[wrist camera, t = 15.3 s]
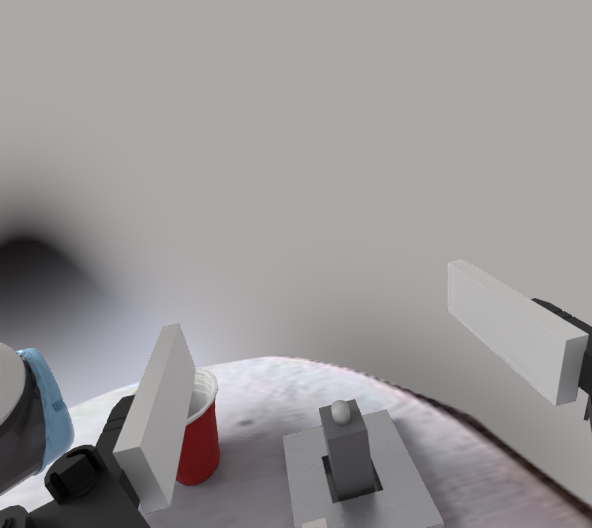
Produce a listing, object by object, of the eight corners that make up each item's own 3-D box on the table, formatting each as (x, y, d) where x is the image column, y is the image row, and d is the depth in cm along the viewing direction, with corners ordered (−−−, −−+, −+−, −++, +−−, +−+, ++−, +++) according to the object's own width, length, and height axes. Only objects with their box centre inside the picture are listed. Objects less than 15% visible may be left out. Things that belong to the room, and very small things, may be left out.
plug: (339, 505, 37) (325, 428, 32) (331, 471, 40) (316, 397, 36) (375, 495, 37) (365, 418, 33) (363, 462, 41) (353, 388, 36)
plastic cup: (256, 447, 46) (235, 377, 41) (192, 525, 38) (157, 449, 33) (204, 417, 52) (180, 354, 47) (140, 478, 44) (104, 410, 40)
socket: (302, 575, 32) (297, 559, 31) (285, 446, 45) (281, 432, 44) (444, 535, 33) (444, 518, 32) (387, 420, 46) (386, 406, 45)
